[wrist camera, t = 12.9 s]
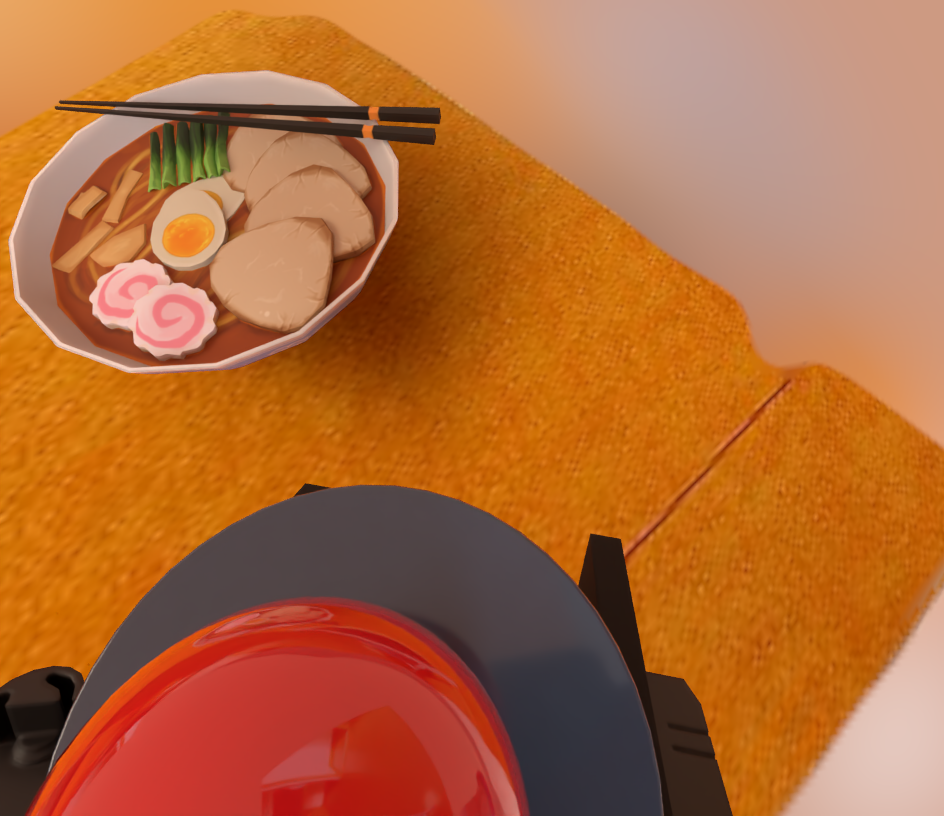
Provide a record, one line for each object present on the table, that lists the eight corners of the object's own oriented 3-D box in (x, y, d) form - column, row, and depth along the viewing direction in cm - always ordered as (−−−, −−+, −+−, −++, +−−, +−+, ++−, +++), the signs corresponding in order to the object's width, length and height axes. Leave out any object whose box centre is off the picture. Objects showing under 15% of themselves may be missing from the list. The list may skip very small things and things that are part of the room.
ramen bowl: (23, 399, 34) (-110, 334, 26) (157, 147, 43) (86, 44, 35) (395, 452, 32) (365, 397, 24) (457, 174, 40) (450, 70, 33)
